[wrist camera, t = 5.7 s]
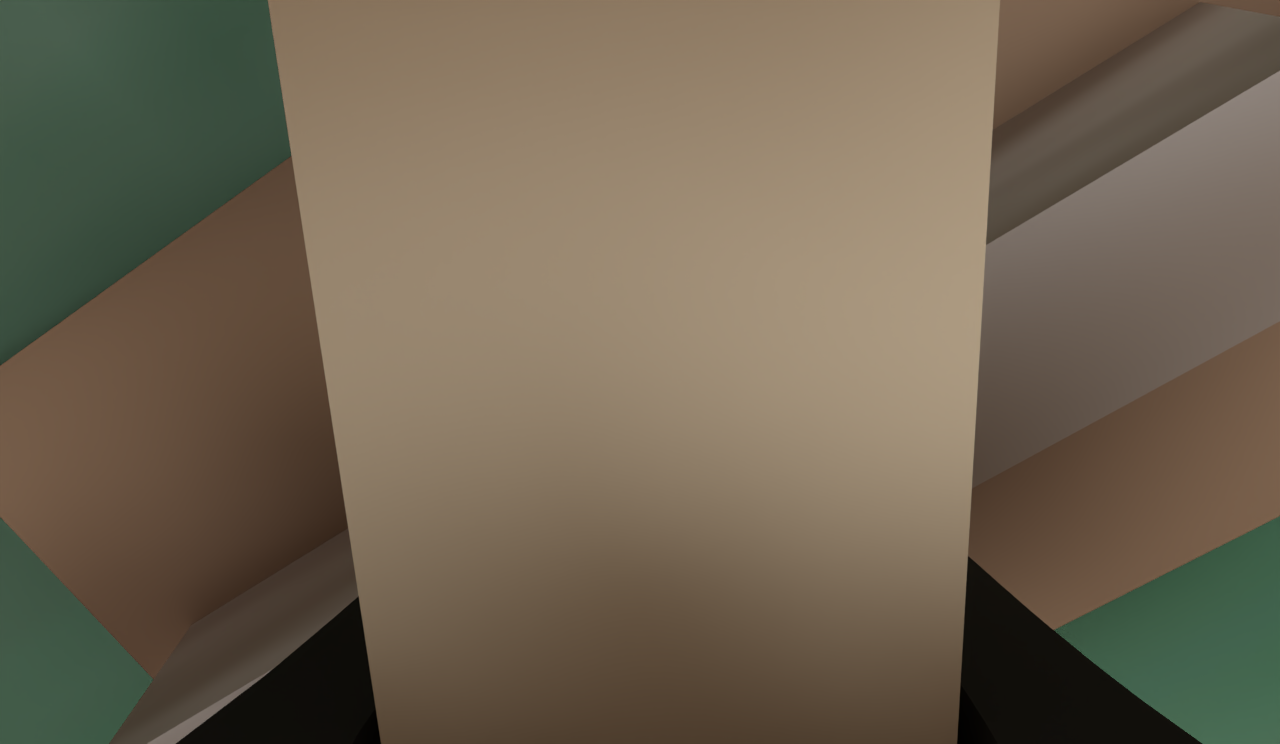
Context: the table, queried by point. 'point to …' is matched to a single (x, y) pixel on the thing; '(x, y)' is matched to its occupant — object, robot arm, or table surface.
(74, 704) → the table surface
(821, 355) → the maple bar
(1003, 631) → the robot arm
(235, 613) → the ridge stand
